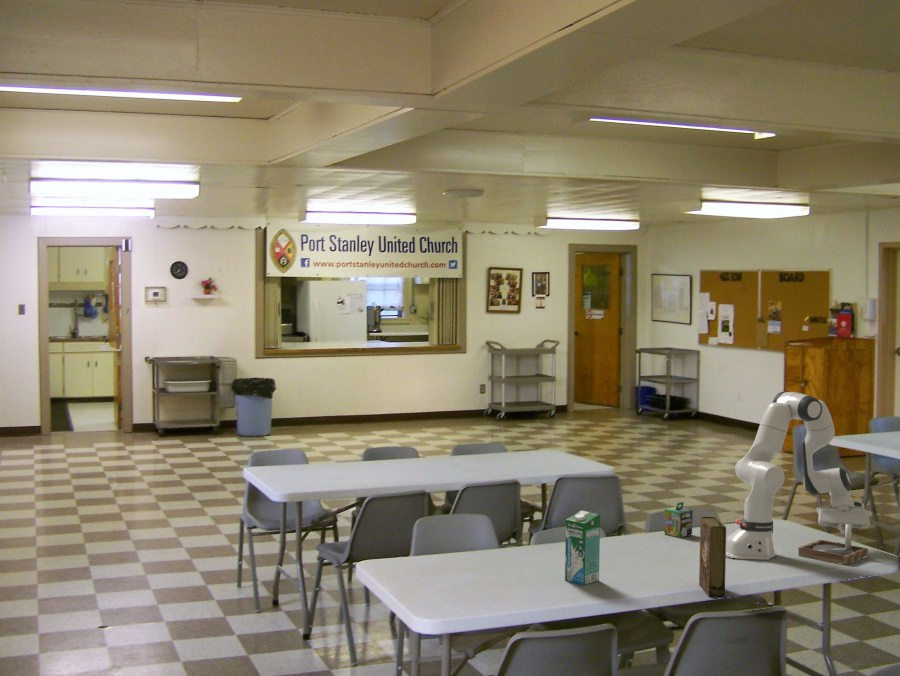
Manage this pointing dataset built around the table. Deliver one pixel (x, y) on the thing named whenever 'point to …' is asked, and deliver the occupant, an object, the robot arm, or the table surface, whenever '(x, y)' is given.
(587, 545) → the milk carton
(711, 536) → the book
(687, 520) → the chalk box
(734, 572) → the table surface
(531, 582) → the table surface
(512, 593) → the table surface
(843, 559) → the dial housing
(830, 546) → the dial
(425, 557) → the table surface
